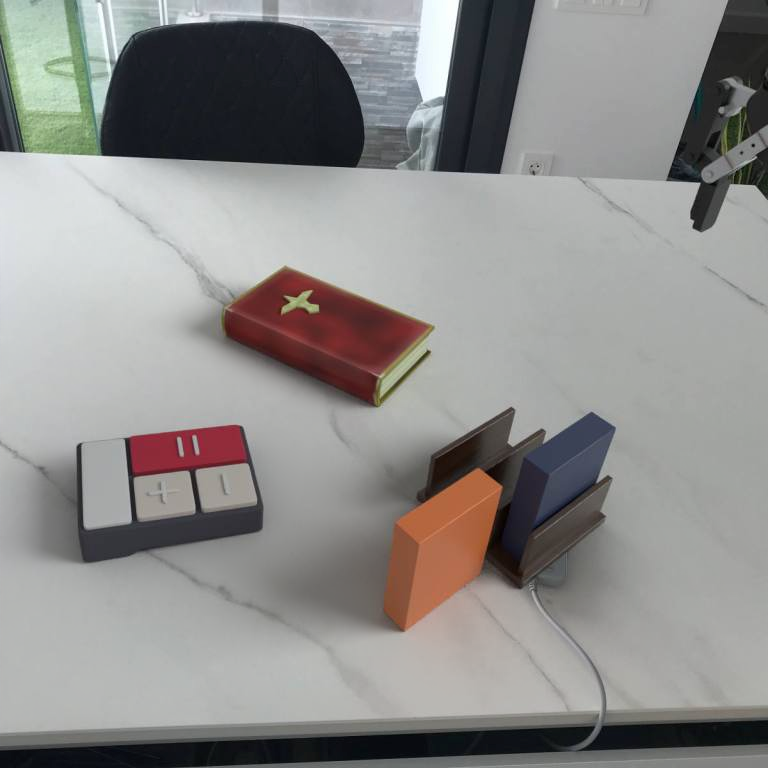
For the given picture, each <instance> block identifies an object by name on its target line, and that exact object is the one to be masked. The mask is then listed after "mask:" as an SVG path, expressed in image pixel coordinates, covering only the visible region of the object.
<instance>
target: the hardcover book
mask: <svg viewBox="0 0 768 768" xmlns="http://www.w3.org/2000/svg"><path fill="white" fill-rule="evenodd" d="M221 328H222V333H223V335H224V337H227V338H229V339H231V340H233V341H235V342H238V343H239V344H242V345H244V346H246V347H248V348H251V349H253V350H255V351H257V352H259V353H262V354H263V355H265V356H268V357H270V358H272V359H274V360H276V361H279V362H280V363H282V364H285V365H287V366H289V367H291V368H293V369H297V370H298V371H300V372H303V373H305V374H307V375H309V376H311V377H312V378H315V379H318V380H320V381H322V382H324V383H326V384H329V385H331V386H333V387H335V388H336V389H339V390H341V391H343V392H345V393H348V394H350V395H352V396H355V397H357V398H358V399H361V400H362V401H365V402H367V403H369V404H372V405H374V406H375V407H378V408H379V407H380V406H381V405H382V404H383V403H384V402H385V401H386V400H387V399H388V398H389V397H391V395H393V393H394V392H395V391H397V389H398V388H399V387H400V386H401V385H402V384H403V383H404V382H405V381H406V380H407V379H408V378H409V377H410V376H411V375H412V374H413V373H414V372H415V371H416V370H417V369H418V368H419V367H420V366H421V365H422V363H424V361H426V360H427V358H429V356H430V355H431V354H432V351H431V350H430V349H428V344H429V337H430V334H431V333H433V331H435V328H436V326H435V325H432V324H430V323H427V322H425V321H423V320H420V319H418V318H416V317H414V316H411V315H408V314H406V313H403V312H401V311H398V310H396V309H393V308H391V307H388V306H386V305H383V304H381V303H379V302H376V301H374V300H372V299H369V298H367V297H364V296H362V295H358V294H357V293H354V292H352V291H349V290H347V289H344V288H341V287H339V286H336V285H335V284H332V283H329V282H327V281H324V280H322V279H320V278H317V277H314V276H313V275H310V274H308V273H305V272H302V271H300V270H298V269H295V268H292V267H291V266H288V265H284V266H282V267H281V268H279V269H278V270H276V271H275V272H273V273H271V275H269V276H268V277H266V278H265V279H263V280H262V281H261V282H258V283H257V284H256V285H254V286H253V287H251V288H250V289H248V290H247V291H245V292H244V293H242V294H241V295H239V296H237V298H235V299H234V300H232V301H231V302H229V303H228V304H226V305H225V306H223V307H222V310H221Z"/></svg>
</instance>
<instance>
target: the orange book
mask: <svg viewBox="0 0 768 768" xmlns="http://www.w3.org/2000/svg"><path fill="white" fill-rule="evenodd" d="M501 491H502V486H501V485H500V484H498V483H497V482H496V481H495V480H493V479H492V478H491V477H490V476H488V475H487V474H486V473H484V472H483V471H482V470H481V469H479V468H477V469H476V470H474V471H472V472H471V473H469V474H468V475H466V476H465V477H463V478H462V479H460V480H459V481H457V482H456V483H454V484H453V485H451V486H449V487H448V488H446V489H445V490H443V491H442V492H440V493H439V494H437V495H436V496H434V497H433V498H431V499H429V500H428V501H426V502H425V503H421V504H419V506H417V507H416V508H414V509H413V510H411V511H409V512H408V513H406V514H405V515H404V516H402V517H400V518H399V519H397V520H395V521H394V525H393V532H392V539H391V547H390V553H389V554H390V555H389V562H388V568H387V577H386V584H385V590H384V591H385V592H384V598H383V599H384V600H383V606H382V611H383V612H384V613H385V614H386V615H387V616H388V617H389V618H390V619H391V620H392V621H393V622H394V623H395V625H396V626H398V628H400V630H401V631H403V632H404V633H405V632H407V631H408V630H409V629H410V628H412V627H413V626H414V625H415V624H417V623H418V622H420V621H421V620H422V619H423V618H425V617H426V616H427V615H429V614H430V613H431V612H433V611H434V610H435V609H436V608H438V607H439V606H440V605H441V604H443V603H444V602H446V601H447V600H448V599H450V598H451V597H452V596H454V595H455V594H456V593H458V592H459V591H460V590H461V589H463V588H464V587H465V586H466V585H468V584H469V583H470V582H471V581H473V580H474V579H476V578H477V577H478V576H479V575H481V572H482V568H483V565H484V561H485V553H486V549H487V545H488V542H489V538H490V534H491V530H492V526H493V522H494V518H495V514H496V511H497V507H498V503H499V499H500V495H501Z"/></svg>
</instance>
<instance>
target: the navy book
mask: <svg viewBox="0 0 768 768" xmlns="http://www.w3.org/2000/svg"><path fill="white" fill-rule="evenodd" d="M616 430H617V426H614V425H613V424H611V423H610V422H608V421H607V420H605V419H604V418H602V417H601V416H600V415H598V414H597V413H595V412H593V411H590V412H589V413H587V414H586V415H584V416H583V417H581V418H580V419H578V420H576V421H575V422H574V423H572V424H570V425H569V426H567V427H566V428H564V429H563V430H561V431H560V432H558V433H557V434H555V435H554V436H552V437H551V438H550V439H548V440H547V441H545V442H543V444H542V445H541V446H539V447H538V448H536V449H535V450H533V451H532V452H530V453H529V454H527V455H526V456H524V458H523V462H522V465H521V469H520V473H519V477H518V480H517V484H516V488H515V491H514V495H513V499H512V502H511V506H510V510H509V513H508V517H507V521H506V524H505V528H504V532H503V535H502V539H501V543H500V545H501V546H502V547H503V548H504V549H505V550H507V551H508V552H509V553H510V554H511V555H512V556H514V557H515V558H516V559H517V560H518V561H520V562H521V559H522V556H523V552H524V549H525V546H526V542H527V539H528V536H529V534H530V533H532V532H533V531H534V530H536V529H537V528H538V527H540V526H541V525H542V524H544V523H545V522H546V521H547V520H549V519H550V518H551V517H553V516H554V515H555V514H557V513H558V512H559V511H561V510H562V509H563V508H565V507H566V506H567V505H569V504H570V503H571V502H573V501H574V500H575V499H577V498H578V497H579V496H581V495H582V494H583V493H584V492H586V491H587V490H588V489H590V488H591V487H592V486H594V485H595V484H596V483H598V479H599V476H600V475H601V471H602V469H603V466H604V463H605V460H606V457H607V455H608V452H609V449H610V446H611V444H612V441H613V438H614V436H615V433H616Z"/></svg>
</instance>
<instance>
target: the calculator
mask: <svg viewBox="0 0 768 768" xmlns="http://www.w3.org/2000/svg"><path fill="white" fill-rule="evenodd" d="M75 448H76V450H75V453H76V455H75V456H76V457H75V458H76V459H75V460H76V500H77V501H76V504H77V505H76V506H77V507H76V509H77V535H78V540H79V546H80V552H81V557H82V560H83V562H85V563H93V562H99V561H105V560H111V559H118V558H124V557H125V558H126V557H130V556H132V555H134V554H135V553H137V552H139V551H141V550H145V549H154V548H159V547H165V546H171V545H178V544H185V543H192V542H197V541H204V540H211V539H216V538H223V537H230V536H234V535H235V536H236V535H243V534H248V533H255V532H260V531H262V529H263V526H264V503H263V502H264V501H263V497H262V494H261V490H260V486H259V482H258V479H257V476H256V472H255V471H256V470H255V467H254V463H253V460H252V455H251V452H250V447H249V444H248V439H247V435H246V432H245V429H244V426H242V425H240V424H227V425H217V426H209V427H199V428H190V429H182V430H172V431H164V432H163V431H162V432H155V433H145V434H136V435H132V436H131V435H130V437H129V436H128V437H119V438H112V439H103V440H93V441H84V442H79V443H77V445H76V447H75Z"/></svg>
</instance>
